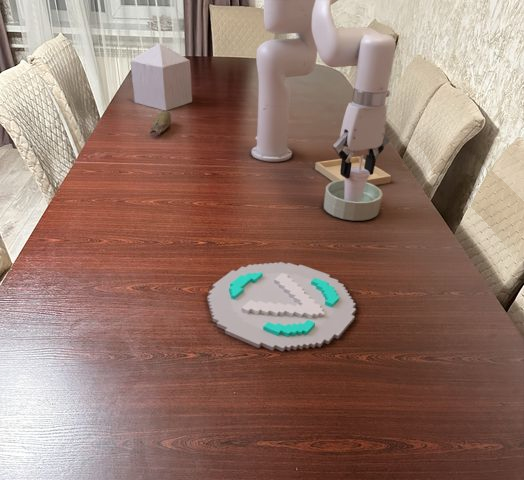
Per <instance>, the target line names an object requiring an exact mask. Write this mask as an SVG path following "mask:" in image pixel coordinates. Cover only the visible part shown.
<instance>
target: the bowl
mask: <svg viewBox="0 0 524 480" xmlns="http://www.w3.org/2000/svg"><path fill="white" fill-rule="evenodd" d="M344 192H345V180H338V181H331V182H329V183H327V184H326V186H325V190H324V196H323V209H324V210H325V211H326V213H328V214H329V215H331V216H332V217H335V218H338V219H342V220H347V221H367V220H371V219H373V218H376V217H377V216H378V215H379V213H380V210H381V204H382V200H383V195H384V194H383V191H382V189H380V188H379V187H378V185H373V184H370V183H367V182H366V185H365V188H364V192H363V195H362V198H361V201H360V202H354V201H347V200H344Z"/></svg>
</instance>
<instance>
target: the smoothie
mask: <svg viewBox="0 0 524 480" xmlns="http://www.w3.org/2000/svg"><path fill="white" fill-rule="evenodd" d="M360 157H361V158H360V164H359V167H351V171H350V177H349V178H348V179H346V178H345V192H344V200H347V201H354V202H360V201H361V198H362V195H363V192H364V188H365V185H366V182H367V179H368V178H369V174H370V172H369V171H368V170H366V169H364V168H361V166H362V160H363V159H364V154H363V153H361V154H360Z"/></svg>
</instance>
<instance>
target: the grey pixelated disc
mask: <svg viewBox="0 0 524 480" xmlns="http://www.w3.org/2000/svg"><path fill="white" fill-rule="evenodd" d="M211 288H212V289H210V290H209V291H208V295H207V297H206V301H207V305H208V308H209V312H210V313H209V314H210V316H211V317H210V318H211V319H212V320H211V322H213V323H216V327H217V328H219V329H222V330H224V334H225V335H227V336H230V337H232V338H234V339H237V340H239V341H241V342H244V343H246V344H248V345H251V346H253V347H254V348H257V349H260V348H261V347H263V348H265V349H267V350H270V351H274V350H275V349H276V350H278V351H280V352H285V350H286V351H288V352H290V351H291V350H293V351H296V350H297V349H299V350H303V349H307V350H308V349H309V348H312V349H315V347H318V348H321V347H322V346H323V344H326V345H329V344H330V343H331V342H332V341H333V340H334V339H337V340H339V339H340V338H341V336H342V335H343V334H344V332H345V331H346V330H347V329H348V328H349V326H350V325H351V324H352V323H353V322H354V321H355V317H356V316H355V314H356V312H357V308H356V305H357V303H355V302H354V301H355V300H354V299H352V296H351V295H350V292H349V291H348V290H347V287H346V286H345V284H343V283H341V282H340V281H339V279H336V278H334V277H331V275H330V274H328V273H325V272H323V271H320V270H317V269H315V268H311V267H309V266H306V265H304V264H299V265H297V264H295V263H291V262H287V263H285V262H283V261H279V262H276V261H275V262H274V263H272V262H269V263H267V262H264V263H259V264H257V263H253V264H248V265H247V266H241V267H239V268H238V269H237V270H234V269H232V270H230V271H229V272H228V273H227V274H225V275H224V276H223V277H221V278H220V279H219V280H217V281H216V282H214V283H213V284H212V287H211ZM348 292H349V293H348Z"/></svg>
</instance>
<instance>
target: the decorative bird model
mask: <svg viewBox="0 0 524 480" xmlns="http://www.w3.org/2000/svg"><path fill="white" fill-rule="evenodd" d="M171 123H172V114H171V112H170V111H169V110H166V111H165V110H161V111H160V112H159V113H157V114H156V117H154V119H153V121H152V125H151V127H150V129H151V130H150V131H148V134H152V133H155V134H156V135H157V136H159V135H161V133H163V132H164V131H165V130H167V129H168V128H169V127H170V126H171Z"/></svg>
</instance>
